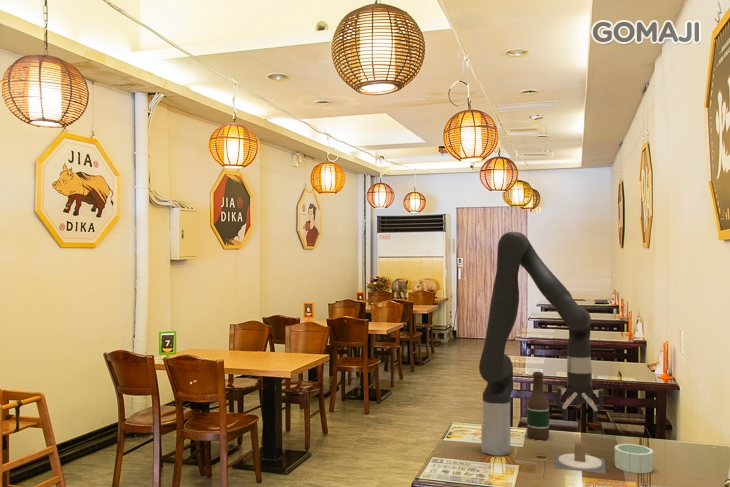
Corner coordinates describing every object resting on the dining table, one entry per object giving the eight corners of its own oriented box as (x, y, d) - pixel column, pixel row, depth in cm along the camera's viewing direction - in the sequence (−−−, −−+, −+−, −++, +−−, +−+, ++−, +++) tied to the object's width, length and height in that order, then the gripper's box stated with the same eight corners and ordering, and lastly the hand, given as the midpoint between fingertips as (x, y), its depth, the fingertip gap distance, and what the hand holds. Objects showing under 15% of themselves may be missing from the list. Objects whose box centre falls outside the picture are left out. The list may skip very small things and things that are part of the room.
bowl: (615, 471, 194) (615, 452, 194) (614, 461, 205) (614, 442, 205) (654, 476, 190) (654, 456, 191) (651, 464, 201) (651, 446, 201)
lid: (557, 467, 197) (557, 448, 197) (559, 454, 209) (559, 436, 210) (601, 472, 193) (601, 452, 193) (601, 459, 205) (601, 440, 205)
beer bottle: (550, 441, 226) (549, 374, 227) (527, 440, 228) (527, 373, 228) (548, 435, 234) (548, 370, 234) (526, 434, 235) (526, 370, 236)
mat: (554, 469, 197) (554, 467, 197) (556, 454, 211) (556, 453, 211) (605, 474, 191) (605, 473, 191) (604, 459, 206) (604, 458, 206)
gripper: (555, 371, 201) (556, 422, 200) (603, 373, 196) (604, 426, 195) (556, 367, 208) (557, 416, 207) (602, 369, 203) (603, 420, 202)
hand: (580, 421), depth 201 cm, fingers open, 8 cm apart
